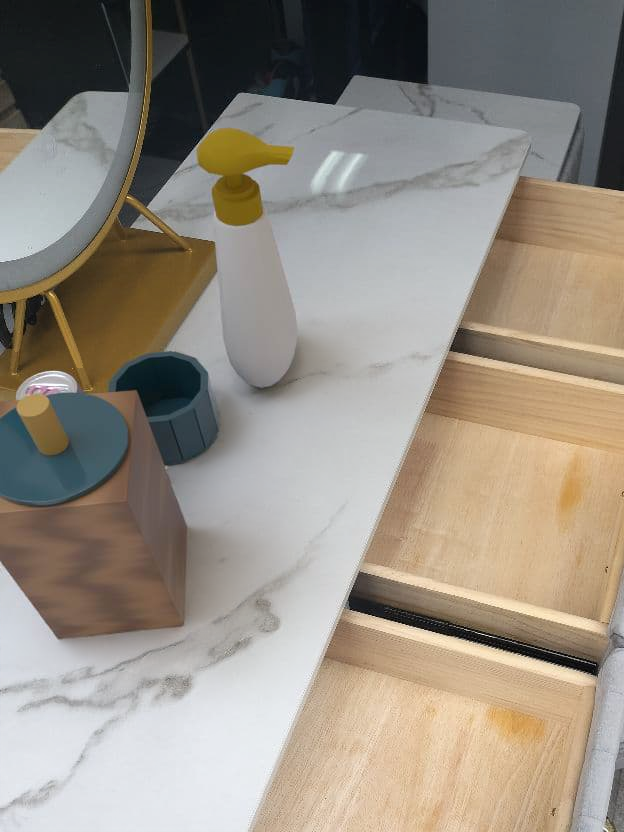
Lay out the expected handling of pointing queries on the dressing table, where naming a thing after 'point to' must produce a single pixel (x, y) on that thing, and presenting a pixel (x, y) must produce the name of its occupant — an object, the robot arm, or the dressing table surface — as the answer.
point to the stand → (104, 544)
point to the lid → (59, 448)
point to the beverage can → (48, 384)
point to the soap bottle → (249, 258)
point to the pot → (173, 402)
